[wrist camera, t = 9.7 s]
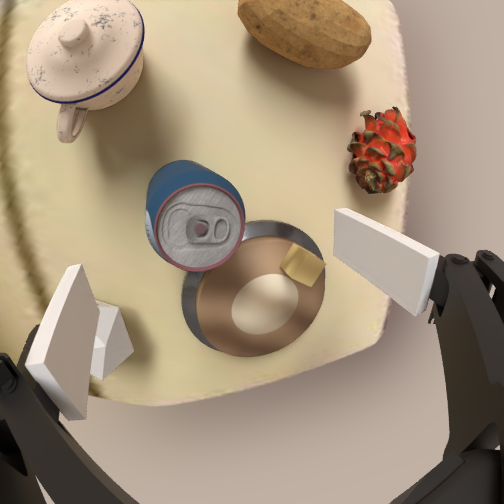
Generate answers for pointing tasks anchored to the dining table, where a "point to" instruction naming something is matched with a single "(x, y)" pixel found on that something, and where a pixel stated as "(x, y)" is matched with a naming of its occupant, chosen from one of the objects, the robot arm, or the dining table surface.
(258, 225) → the turntable base
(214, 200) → the soda can
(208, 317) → the turntable
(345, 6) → the potato
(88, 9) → the teacup with lid
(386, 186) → the dragon fruit
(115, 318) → the die
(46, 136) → the dining table surface
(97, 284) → the dining table surface
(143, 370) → the dining table surface
